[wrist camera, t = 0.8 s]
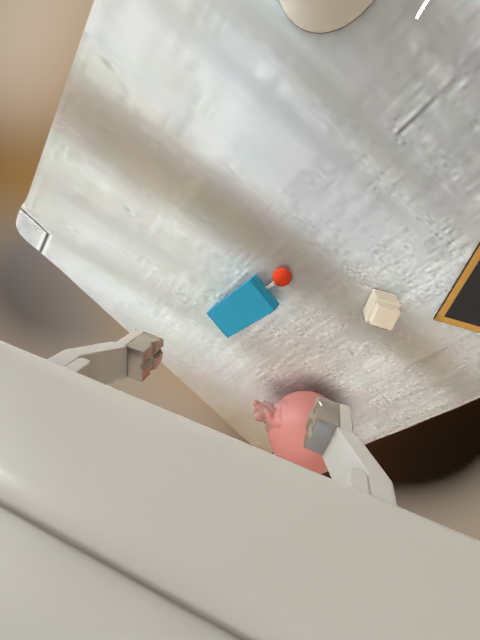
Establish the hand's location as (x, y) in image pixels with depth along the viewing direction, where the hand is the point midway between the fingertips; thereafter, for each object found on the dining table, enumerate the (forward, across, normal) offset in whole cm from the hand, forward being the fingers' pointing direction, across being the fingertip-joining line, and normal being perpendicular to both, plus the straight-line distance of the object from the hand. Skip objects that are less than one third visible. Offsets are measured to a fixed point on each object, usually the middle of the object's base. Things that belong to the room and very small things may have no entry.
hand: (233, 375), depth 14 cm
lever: (+39, +7, +12) cm, 42 cm away
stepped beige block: (+39, -15, +6) cm, 42 cm away
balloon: (+40, -9, +32) cm, 52 cm away
